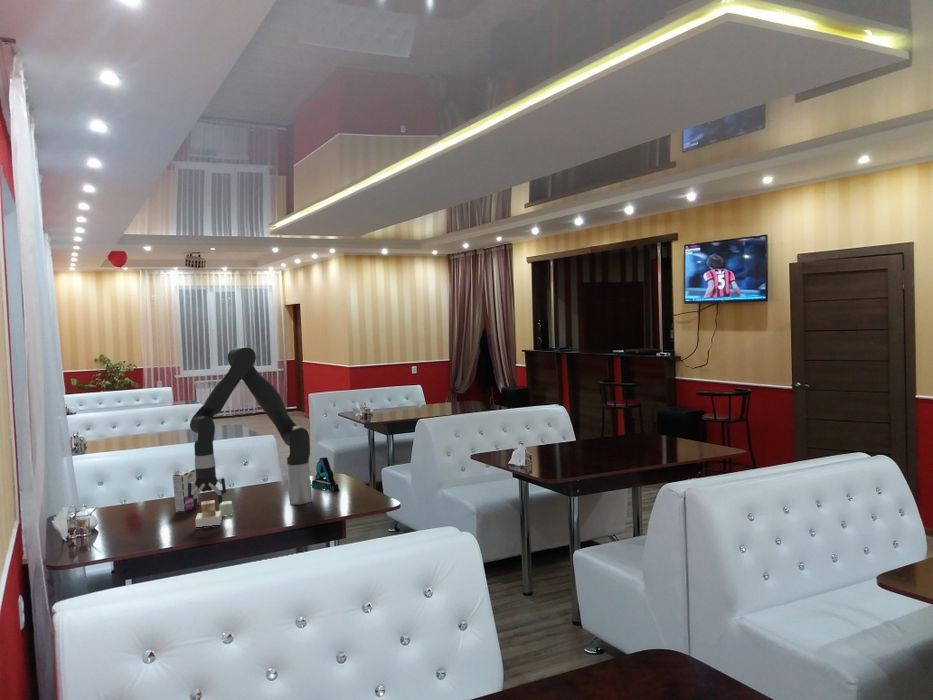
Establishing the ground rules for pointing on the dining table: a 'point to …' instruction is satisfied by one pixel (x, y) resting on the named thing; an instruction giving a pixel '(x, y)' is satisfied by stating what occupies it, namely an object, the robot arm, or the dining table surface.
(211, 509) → the oak cube
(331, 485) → the decorative sign
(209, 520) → the cream block
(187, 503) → the candy bar box
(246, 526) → the dining table surface
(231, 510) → the sage cube
